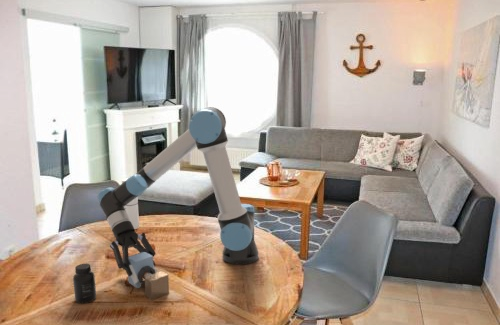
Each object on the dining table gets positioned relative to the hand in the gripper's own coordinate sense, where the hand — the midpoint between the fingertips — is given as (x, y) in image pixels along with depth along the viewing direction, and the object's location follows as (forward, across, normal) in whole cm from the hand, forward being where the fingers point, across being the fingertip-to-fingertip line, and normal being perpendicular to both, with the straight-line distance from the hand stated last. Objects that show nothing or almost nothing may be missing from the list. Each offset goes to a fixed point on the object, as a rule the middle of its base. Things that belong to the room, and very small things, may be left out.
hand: (146, 279), depth 151 cm
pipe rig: (0, 0, -5) cm, 5 cm away
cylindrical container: (-40, -29, -46) cm, 67 cm away
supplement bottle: (-3, +19, -8) cm, 21 cm away
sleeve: (-1, 0, -4) cm, 4 cm away
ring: (+1, 0, -1) cm, 2 cm away
